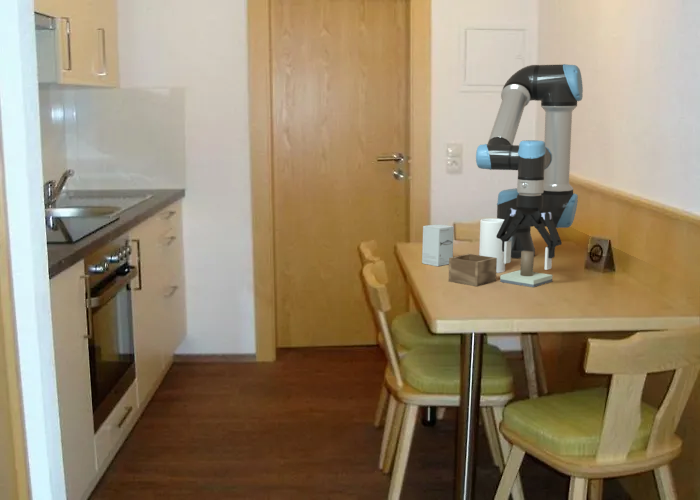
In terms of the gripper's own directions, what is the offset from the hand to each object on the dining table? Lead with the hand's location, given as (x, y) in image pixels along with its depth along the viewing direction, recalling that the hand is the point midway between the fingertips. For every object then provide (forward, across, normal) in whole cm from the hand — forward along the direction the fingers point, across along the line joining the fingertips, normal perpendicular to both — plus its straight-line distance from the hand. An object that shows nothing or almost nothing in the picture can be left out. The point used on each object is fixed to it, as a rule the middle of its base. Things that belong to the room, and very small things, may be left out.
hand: (527, 266), depth 245 cm
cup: (+5, -17, +8) cm, 19 cm away
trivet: (+5, 0, 0) cm, 5 cm away
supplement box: (+5, -36, +5) cm, 37 cm away
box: (+5, -12, -11) cm, 17 cm away
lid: (+4, 0, 0) cm, 4 cm away
